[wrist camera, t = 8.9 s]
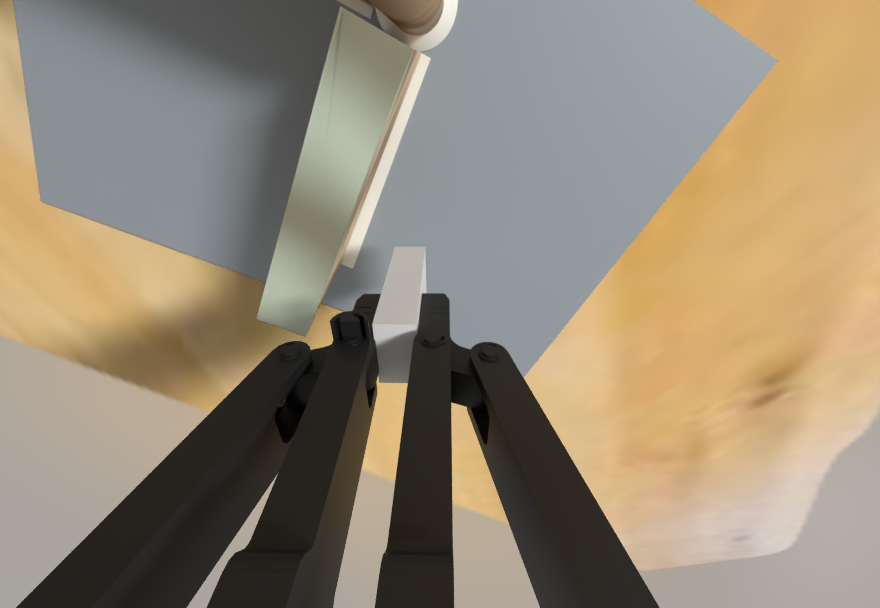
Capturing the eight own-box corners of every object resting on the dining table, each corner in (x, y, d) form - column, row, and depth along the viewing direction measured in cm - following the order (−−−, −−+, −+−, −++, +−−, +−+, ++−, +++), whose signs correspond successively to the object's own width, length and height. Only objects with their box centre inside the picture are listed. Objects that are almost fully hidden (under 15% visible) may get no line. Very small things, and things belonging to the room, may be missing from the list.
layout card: (45, 199, 21) (39, 201, 21) (-49, -520, 10) (-66, -541, 10) (523, 373, 28) (524, 377, 28) (773, 60, 17) (779, 60, 17)
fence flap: (378, 28, 16) (339, 6, 10) (423, 54, 17) (412, 48, 11) (306, 251, 22) (256, 319, 16) (341, 266, 23) (305, 336, 17)
